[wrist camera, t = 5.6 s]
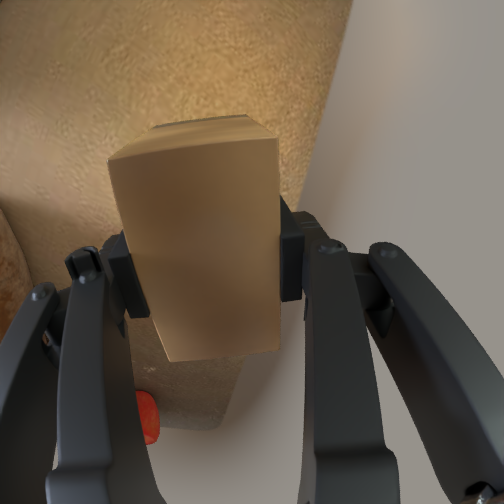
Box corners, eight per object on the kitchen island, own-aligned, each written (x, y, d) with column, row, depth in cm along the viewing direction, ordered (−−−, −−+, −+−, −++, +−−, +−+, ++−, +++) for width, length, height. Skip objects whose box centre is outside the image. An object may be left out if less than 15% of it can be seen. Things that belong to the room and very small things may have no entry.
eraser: (246, 114, 14) (278, 135, 8) (255, 255, 19) (280, 350, 12) (154, 125, 14) (105, 159, 7) (179, 264, 19) (169, 362, 12)
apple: (111, 384, 33) (104, 431, 27) (151, 382, 34) (148, 432, 27) (130, 406, 37) (126, 448, 30) (167, 404, 37) (166, 449, 31)
